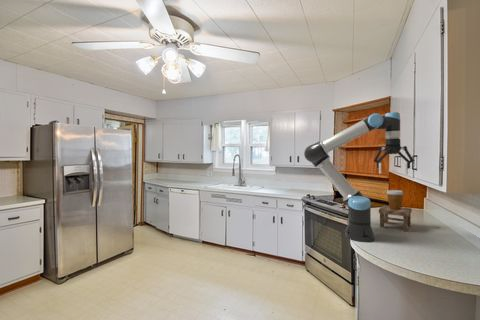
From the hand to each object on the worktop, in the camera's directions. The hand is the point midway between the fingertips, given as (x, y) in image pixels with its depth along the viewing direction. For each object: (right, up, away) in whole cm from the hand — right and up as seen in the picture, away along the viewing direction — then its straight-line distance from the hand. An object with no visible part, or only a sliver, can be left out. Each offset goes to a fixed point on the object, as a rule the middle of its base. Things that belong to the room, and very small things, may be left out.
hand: (393, 173), depth 142 cm
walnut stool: (+12, -36, +16) cm, 41 cm away
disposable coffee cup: (+12, -25, +16) cm, 31 cm away
